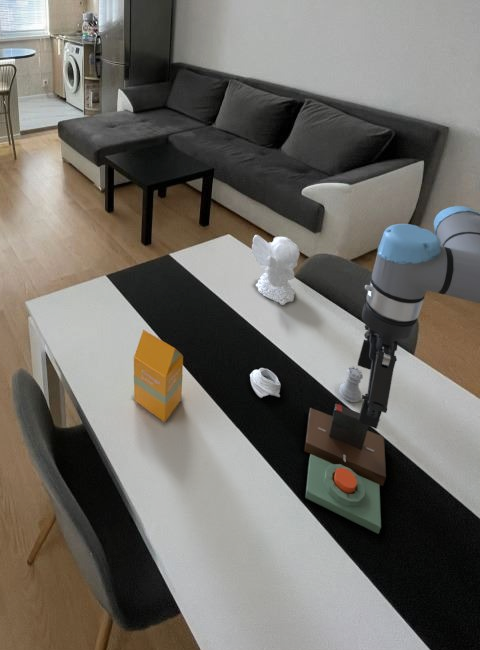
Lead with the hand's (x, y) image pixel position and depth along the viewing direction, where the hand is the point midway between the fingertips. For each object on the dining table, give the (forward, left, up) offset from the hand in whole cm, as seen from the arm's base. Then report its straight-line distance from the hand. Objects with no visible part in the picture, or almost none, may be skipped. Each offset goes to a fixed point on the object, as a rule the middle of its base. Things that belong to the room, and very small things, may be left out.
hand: (366, 393), depth 82 cm
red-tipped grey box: (+1, -2, -16) cm, 17 cm away
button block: (+1, +8, -20) cm, 21 cm away
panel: (+1, -2, -20) cm, 20 cm away
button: (+1, +8, -16) cm, 18 cm away
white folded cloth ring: (+18, -10, -20) cm, 28 cm away
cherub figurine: (+21, -46, -20) cm, 54 cm away
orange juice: (+40, +6, -20) cm, 45 cm away
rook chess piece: (0, -17, -20) cm, 26 cm away
